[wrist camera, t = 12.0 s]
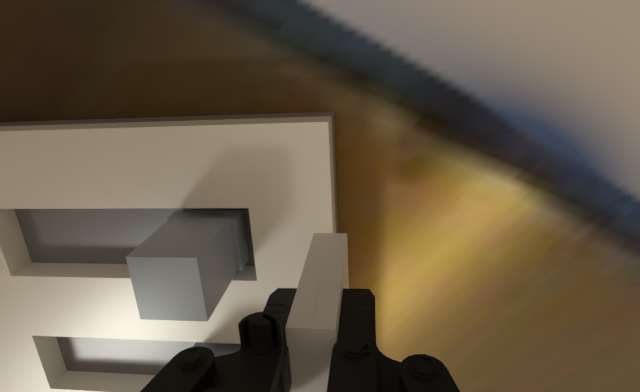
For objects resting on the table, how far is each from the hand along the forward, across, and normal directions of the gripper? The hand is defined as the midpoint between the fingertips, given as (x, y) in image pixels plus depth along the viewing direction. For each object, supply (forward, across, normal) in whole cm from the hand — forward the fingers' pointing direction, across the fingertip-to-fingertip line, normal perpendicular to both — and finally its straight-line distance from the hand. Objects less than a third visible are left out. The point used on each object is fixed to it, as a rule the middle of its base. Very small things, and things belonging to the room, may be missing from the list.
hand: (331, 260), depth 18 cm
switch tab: (+3, -7, 0) cm, 7 cm away
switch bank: (+4, -11, -8) cm, 14 cm away
